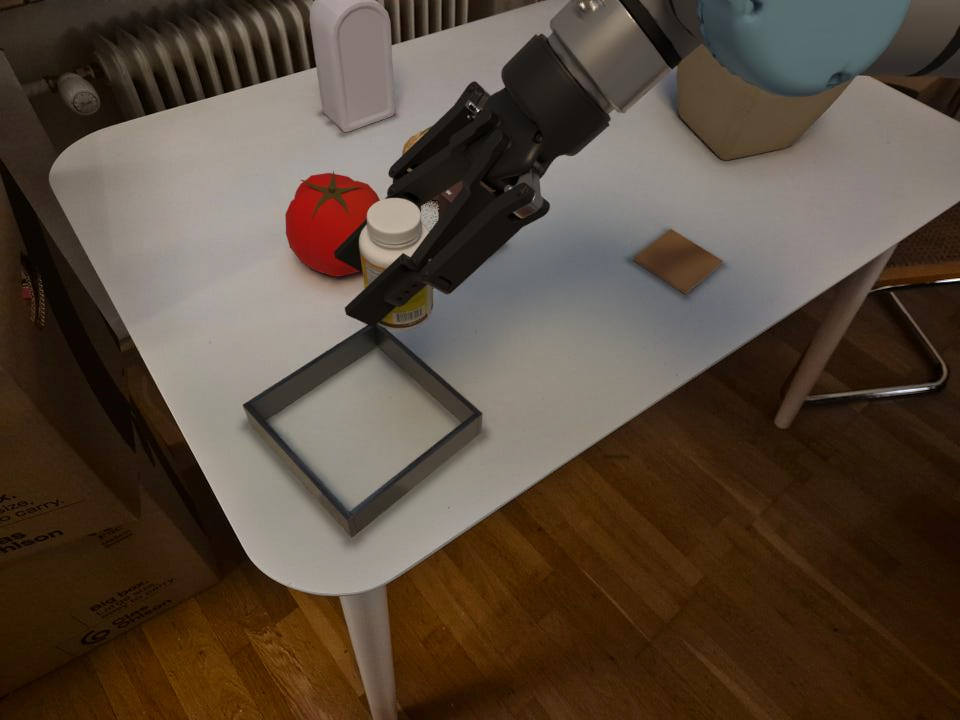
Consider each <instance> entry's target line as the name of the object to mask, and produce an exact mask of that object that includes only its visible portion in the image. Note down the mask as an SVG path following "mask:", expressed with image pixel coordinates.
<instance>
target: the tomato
mask: <svg viewBox="0 0 960 720" xmlns="http://www.w3.org/2000/svg"><path fill="white" fill-rule="evenodd" d="M300 182H301V183H300V184H299V185H298V187H297V188H296V190H295V192H294V198H293V199H292V200H291V201H290V202H289V205H288V207H287V209H286V211H285V236H286V239H287V242H288V243H287V244H288V245H289V248H290V250H291V251H292V252H293V253H294V254H295V257H297V258H298V260H300V261H301V262H302V263H304V264H305V265H306V266H307V267H309V268H311V269H313V270H314V271H317V272H319V273H322V274H326V275H328V276H331V277H344V276H348V275H351V274H354V273H358V272H360V271H359V270H357V269H355V268H353V267H351V266H349V265H347V264H345V263H343V262H342V261H340V260H338V259H336V258H335V255H334V251H335V250H336V249H337V248H338V247H339V246H340V245H341V244H342V243H343V242H344V241H345V240H346V239H347V238H348V237H349V236H350V235H351V234H352V233H353V232H354V231H355V230H356V229H357V228H358V227H359V226H360V225H361V224H362V223H363V222H364V221H365V220H366V218H367V212H368V210H369V208H370V207H371V206H372V205H373V204H375V203H376V202H378V201H380V200H381V199H380V197H379V196H378V193H377V191H375V190H374V189H373V188H372V187H371V185H370V184H368V183H367V182H364V181H363V182H362V181H360V180H354V179H353V178H351V177H350V176H348V175H343V174H338V173H335V170H333V171H332V172H325V173H319V174H312V175H310V176H309V177H308V178H306V179H305V180H304V179H300Z"/></svg>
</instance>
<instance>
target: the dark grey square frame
mask: <svg viewBox="0 0 960 720" xmlns="http://www.w3.org/2000/svg"><path fill="white" fill-rule="evenodd" d="M375 348H379V349H380V350H381V351H382V352H383V353H384V354H385V355H386V356H388V358H389V359H391V360H392V361H393V362H394V363H395V364H396V365H397V366H399V367H400V368H401V369H402V370H403V371H404V372H405V373H406V374H407V375H408V376H409V377H411V378H412V379H413V380H414V381H415V382H416V383H417V384H418V385H420V386H421V387H422V388H423V389H424V390H425V391H426V392H428V394H430V395H431V396H432V397H433V398H434V399H435V400H436V401H437V402H438V403H440V404H441V405H442V406H443V407H444V408H445V409H446V410H448V411H449V413H451V414H452V415H453V416H454V417H455V418H456V419H458V420H459V421H460V422H461V423H460V424H459V425H457V426H456V427H455V428H454V429H452V430H451V431H450V432H449V433H447V434H446V435H444V436H443V437H442V438H441V439H440V440H438V441H437V442H436V443H435V444H433V445H432V446H431V447H430V448H428V449H427V450H426V451H424V452H423V453H422V454H421V455H419V456H418V457H417V458H416V459H414V460H413V461H412V462H410V463H409V464H408V465H406V467H404V468H403V469H402V470H400V471H399V472H397V474H395V475H394V476H393V477H392V478H390V479H389V480H388V481H386V482H385V483H384V484H382V485H381V486H380V487H379V488H377V489H376V490H375V491H373V493H371V494H370V495H369V496H367V497H366V498H365V499H363V500H362V501H361V502H360V503H359V504H357V505H356V506H355V507H354V508H352V509H351V510H350V511H349V510H348V509H347V508H346V507H345V506H344V505H343V504H342V503H341V501H340V500H338V498H337V497H336V496H335V495H334V494H333V493H332V492H331V491H330V490H329V489H328V487H327V486H326V485H325V484H324V483H323V482H322V481H321V479H320V478H319V477H318V476H317V475H316V474H315V473H314V472H313V471H312V470H311V469H310V468H309V467H308V466H307V464H306V463H304V461H303V460H302V459H301V458H300V457H299V456H298V455H297V453H296V452H295V451H294V450H293V449H292V448H291V447H290V446H289V445H288V444H287V443H286V442H285V441H284V439H283V437H281V436H280V435H279V434H278V433H277V432H276V430H274V428H273V427H272V426H271V425H270V424H269V423H268V422H267V420H268V419H270V418H271V417H273V416H274V415H277V413H279V412H280V411H282V410H284V408H285V409H286V407H288V406H290V405H291V404H292V403H294V402H295V401H297V400H298V399H300V398H301V397H303V396H305V395H306V394H308V393H309V392H310V391H312V390H313V389H315V388H317V387H318V386H320V385H321V384H323V383H324V382H326V381H327V380H329V379H331V378H332V377H333V376H335V375H336V374H338V373H339V372H340V371H342V370H344V369H345V368H346V367H349V366H350V365H352V364H353V363H355V361H357V360H360V358H362V357H363V356H365V355H367V354H368V353H370V352H372V351H373V350H374V349H375ZM242 408H243V410H244V413H245V415H246V418H247V420H248V422H249V425H250V427H252V429H253V430H254V431H255V432H256V433H257V434H258V435H259V436H260V438H262V440H263V441H264V442H265V443H266V444H267V445H268V446H269V447H270V448H271V450H272V451H273V452H274V453H275V454H276V455H277V457H279V459H280V460H281V461H282V462H283V463H284V464H285V465H286V466H287V468H288V469H289V470H290V471H291V472H292V473H293V474H294V475H295V476H296V477H297V479H298V480H299V481H300V482H301V483H302V485H304V486H305V488H306V489H307V490H308V491H309V492H310V494H312V496H313V497H314V498H315V499H316V500H317V501H318V502H319V503H320V505H322V507H323V508H324V509H325V510H326V511H327V512H328V513H329V515H331V516H332V518H333V519H334V520H335V521H336V522H337V523H338V525H340V526H341V527H342V529H343V530H344V531H345V532H346V533H347V534H348V535H349V537H350V538H353V537H354V536H356V535H357V534H358V533H359V532H361V531H362V530H363V529H365V528H366V527H367V526H368V525H369V524H370V523H372V522H373V521H374V520H376V519H377V518H378V517H379V516H381V515H382V514H383V513H384V512H385V511H386V510H388V509H389V508H390V507H392V506H393V505H394V504H395V503H396V502H397V501H399V500H400V499H401V498H402V497H404V496H405V495H406V494H407V493H409V492H410V491H411V490H412V489H413V488H415V487H416V486H417V485H418V484H420V483H421V482H422V481H423V480H425V479H426V478H427V477H428V476H429V475H431V474H432V473H433V472H434V471H436V470H437V469H438V468H439V467H441V466H442V465H443V464H444V463H446V461H448V460H450V458H451V457H452V456H454V455H455V454H457V453H458V452H459V451H460V450H462V448H464V447H465V446H466V445H468V444H469V443H470V442H471V441H473V440H474V439H475V438H476V437H477V436H479V434H481V433H482V425H483V423H482V422H483V414H484V413H483V412H482V411H481V410H480V409H478V408H477V407H476V406H475V405H474V404H473V403H472V402H470V401H469V400H468V399H467V398H466V397H465V396H464V395H463V394H462V393H460V392H459V391H458V390H456V389H455V387H453V386H452V385H451V384H450V383H449V382H447V381H446V380H445V379H444V378H443V377H442V376H441V375H440V374H439V373H437V372H436V371H435V370H434V369H433V368H431V367H430V366H429V365H428V364H427V363H426V362H425V361H423V359H421V358H420V357H419V356H418V355H417V354H416V353H414V352H413V350H411V349H410V348H409V347H408V346H406V345H405V344H404V343H403V342H402V341H400V339H399V338H398V337H396V335H394V334H393V333H392V332H391V331H389V329H386V328H384V327H382V326H380V325H378V324H376V325H375V326H374V327H372V326H369V325H367V324H366V325H365V326H364V327H362V328H361V329H359V330H357V331H356V332H354V333H352V334H351V335H349V336H348V337H346V338H344V339H343V340H342V341H340V342H338V343H337V344H335V345H334V346H332V347H330V348H329V349H328V350H326V351H325V352H323V353H321V354H319V355H318V356H316V357H315V358H313V359H311V360H310V361H309V362H307V363H305V364H304V365H303V366H301V367H299V368H298V369H296V370H294V371H293V372H291V373H290V374H288V375H287V376H285V377H284V378H282V379H281V380H279V381H277V382H275V383H274V384H273V385H271V386H269V387H268V388H266V389H265V390H263V391H262V392H260V393H259V394H257V395H255V396H254V397H252V398H251V399H249V400H248V401H246V402H244V403H243V404H242Z"/></svg>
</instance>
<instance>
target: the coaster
mask: <svg viewBox="0 0 960 720" xmlns="http://www.w3.org/2000/svg"><path fill="white" fill-rule="evenodd" d="M632 260H633V261H634V262H635V263H636V264H638V265H640V266H642V267H643V268H645V269H646V270H647V271H649V272H650V273H652V274H654V275H655V276H656V277H658V278H659V279H661V280H663V281H664V282H666V283H667V284H668V285H671V287H673V288H674V289H676V290H678V291H679V292H681V293H682V294H684V295H687V294H688V293H689V292H691V291H692V290H693V289H694V288H695V287H697V286H698V285H699V284H700V283H702V282H703V281H704V280H705V279H706V278H707V277H708V276H709V275H711V274H712V273H713V272H715V270H716V269H718V268H719V267H720V266H721V265H722V264H723V262H724V260H723V259H721V258H720V257H717V256H716V255H714V254H713V253H712V252H709V251H708V250H706V249H705V248H703V247H702V246H700V245H698V244H696V243H695V242H693V241H691V240H690V239H689V238H687V237H685V236H683V235H682V234H681V233H678V232H677V231H676V230H674V229H672V228H670V229H669V230H668V231H667V232H665V233H663V234H662V235H661V236H660V237H658V238H657V239H656V240H654V241H653V242H652V243H651V244H649V245H647V246H646V247H645V248H644V249H643V250H641V251H640V252H639V253H637V254H636V255H635V256H634V257H633V259H632Z"/></svg>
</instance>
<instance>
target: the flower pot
mask: <svg viewBox="0 0 960 720" xmlns="http://www.w3.org/2000/svg"><path fill="white" fill-rule="evenodd" d="M676 69H677V70H676V83H677V85H676V86H677V103H678V105H677V106H678V111H679V112H678V113H679V117H680V119H682V121H683V122H685V124H686V125H687V126H688V127H689V128H690V129H691V130H692V131H693V132H694V133H695V134H696V135H697V136H698V137H699V138H700V140H702V142H704V144H706V146H707V147H709V149H710V150H711V151H712V152H713V154H715V155H716V156H717V157H718V158H719V159H720V160H723V161H731V160H735V159H740V158H745V157H746V158H747V157H749V156H754V155H759V154H763V153H764V154H765V153H770V152H773V151H778V150H783V149H787V148H789V147H791V146H792V145H793V144H794V143H796V142H797V141H798V140H799V139H800V138H801V137H802V136H803V135H804V134H805V133H806V132H807V131H808V130H809V129H811V128H812V127H813V125H814V124H815V123H816V122H817V121H818V120H819V119H820V118H821V117H822V116H823V115H824V114H825V113H826V111H827V110H829V109H830V107H831V106H832V105H833V104H834V103H835V102H836V101H837V99H838V98H840V96H841V95H842V94H843V93H844V91H846V89H847V88H848V87H849V86H850V85H851V83H852V82H853V81H854V80H855V78H853V79H852V80H850V81H847V82H844V83H842V84H840V85H838V86H836V87H834V88H832V89H829V90H826V91H823V92H822V93H820V94H817V95H814V96H809V97H792V98H791V97H784V96H779V95H774V94H771V93H768V92H766V91H763V90H761V89H760V88H758V87H756V86H754V85H751V84H748V83H746V82H744V81H743V80H742V79H741V78H740V77H739V76H737V75H732V74H730V73H729V72H728V70H727V69H726V68H725V67H722V66H720V65H719V63H718V61H717V60H716V59H714V57H713V56H712V55H711V53H710V52H709V50H708V49H707V48H706V47H705V46H704V45H703V44H701V45H700V46H698V47H697V48H696V49H695V50H694V51H693V52H691V53H690V54H689V55H688V56H687V57H686V58H684V59H683V60H682V61H681V62H680V64H678V65H677V66H676Z"/></svg>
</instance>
